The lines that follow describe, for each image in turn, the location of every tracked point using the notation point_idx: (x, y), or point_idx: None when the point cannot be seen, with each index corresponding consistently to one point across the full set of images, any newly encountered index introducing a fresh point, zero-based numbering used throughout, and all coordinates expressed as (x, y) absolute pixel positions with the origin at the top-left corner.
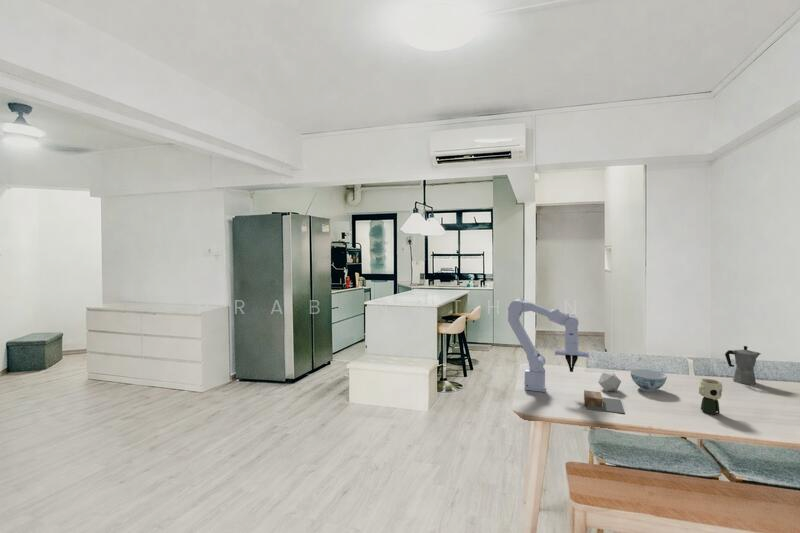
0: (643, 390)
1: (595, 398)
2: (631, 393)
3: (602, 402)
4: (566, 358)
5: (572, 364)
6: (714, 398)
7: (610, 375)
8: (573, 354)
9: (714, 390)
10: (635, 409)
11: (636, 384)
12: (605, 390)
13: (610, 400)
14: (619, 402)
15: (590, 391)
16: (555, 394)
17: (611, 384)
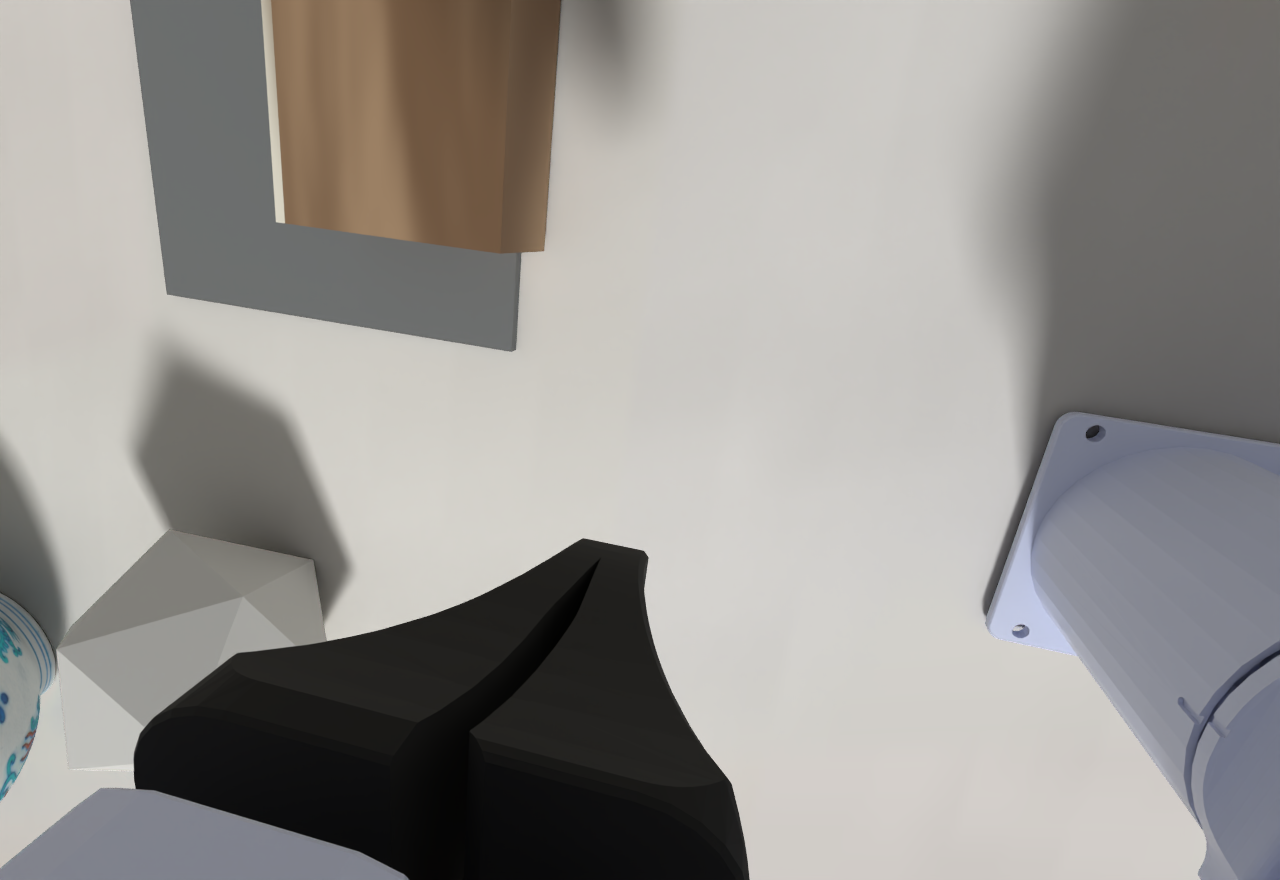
0: (25, 613)
1: None
2: (104, 529)
3: None
4: (701, 784)
5: (520, 617)
6: None
7: (92, 664)
8: (27, 852)
9: None
10: (31, 13)
11: (29, 675)
12: (306, 561)
13: (258, 233)
14: (171, 183)
15: (414, 215)
16: (912, 351)
17: (177, 559)
